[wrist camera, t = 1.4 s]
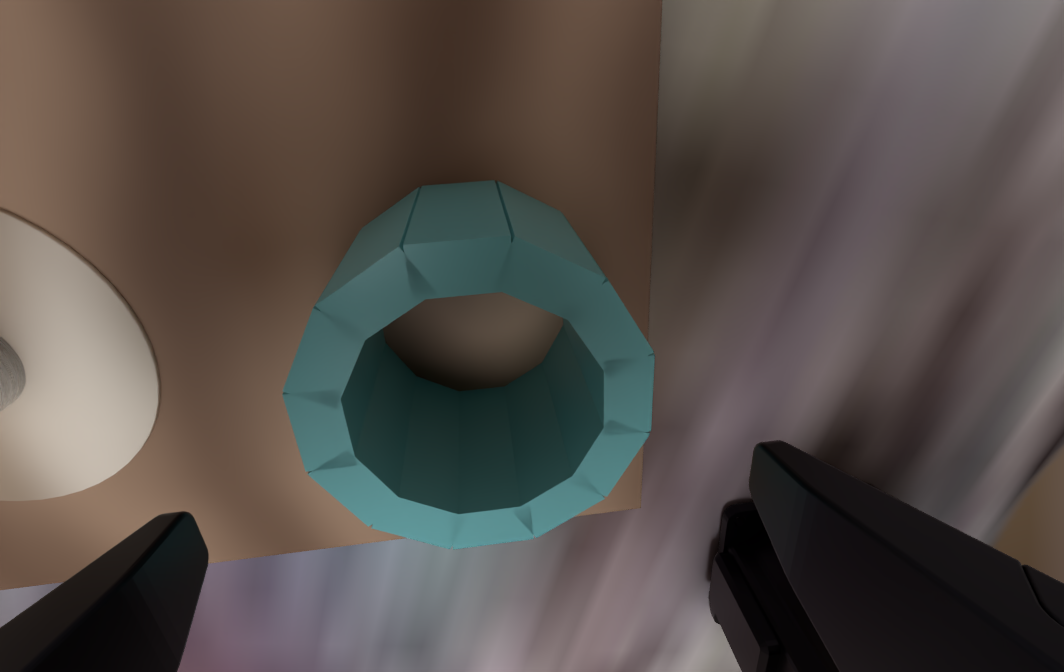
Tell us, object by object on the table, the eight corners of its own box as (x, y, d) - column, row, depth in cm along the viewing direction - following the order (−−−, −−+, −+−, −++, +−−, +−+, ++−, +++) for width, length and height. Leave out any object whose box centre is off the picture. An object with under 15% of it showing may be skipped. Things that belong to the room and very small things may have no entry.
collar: (597, 172, 14) (661, 222, 10) (598, 404, 17) (646, 524, 13) (314, 194, 13) (241, 258, 9) (367, 429, 17) (333, 565, 12)
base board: (643, -34, 13) (667, -47, 12) (628, 479, 21) (642, 512, 19) (-479, 22, 12) (-622, 15, 10) (-67, 565, 19) (-113, 609, 17)
